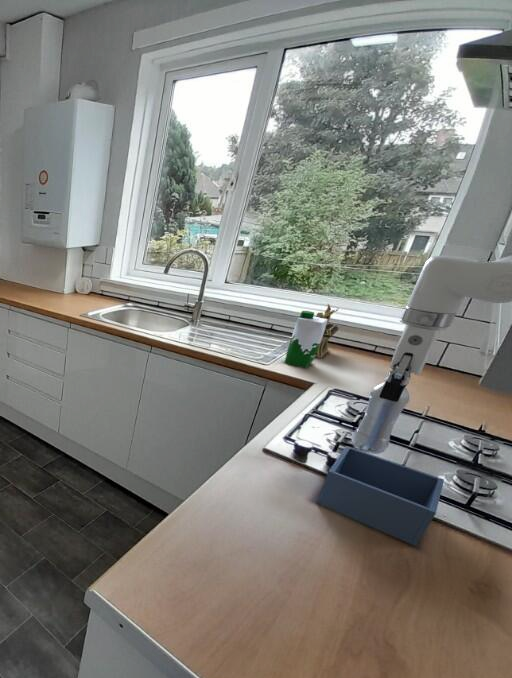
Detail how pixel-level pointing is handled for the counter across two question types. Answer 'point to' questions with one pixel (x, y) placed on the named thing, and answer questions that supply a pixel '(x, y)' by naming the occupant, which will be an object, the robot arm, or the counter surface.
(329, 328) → the brown figurine
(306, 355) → the milk carton
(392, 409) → the plastic bottle
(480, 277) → the robot arm
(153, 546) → the counter surface
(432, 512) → the tote
